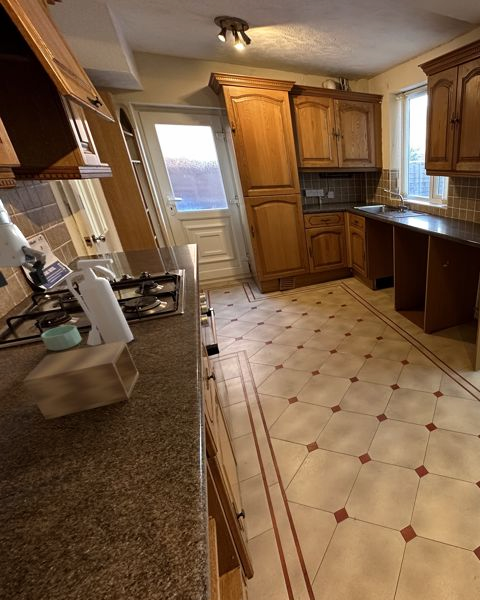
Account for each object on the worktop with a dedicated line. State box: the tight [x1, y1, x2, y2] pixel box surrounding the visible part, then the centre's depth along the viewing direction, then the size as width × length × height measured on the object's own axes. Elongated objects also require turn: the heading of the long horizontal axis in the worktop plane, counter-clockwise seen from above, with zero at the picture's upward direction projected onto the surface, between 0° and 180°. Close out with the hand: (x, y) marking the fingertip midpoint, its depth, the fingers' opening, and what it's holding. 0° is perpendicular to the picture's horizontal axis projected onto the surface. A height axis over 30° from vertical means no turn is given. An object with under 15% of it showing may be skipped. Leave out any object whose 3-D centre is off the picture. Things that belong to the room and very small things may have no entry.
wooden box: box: [22, 341, 140, 420], centre depth 72 cm, size 14×10×10 cm
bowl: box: [40, 324, 83, 352], centre depth 93 cm, size 7×7×5 cm
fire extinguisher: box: [65, 258, 134, 347], centre depth 90 cm, size 7×12×25 cm, turn 118°
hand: (21, 285), depth 85 cm, fingers open, 9 cm apart
